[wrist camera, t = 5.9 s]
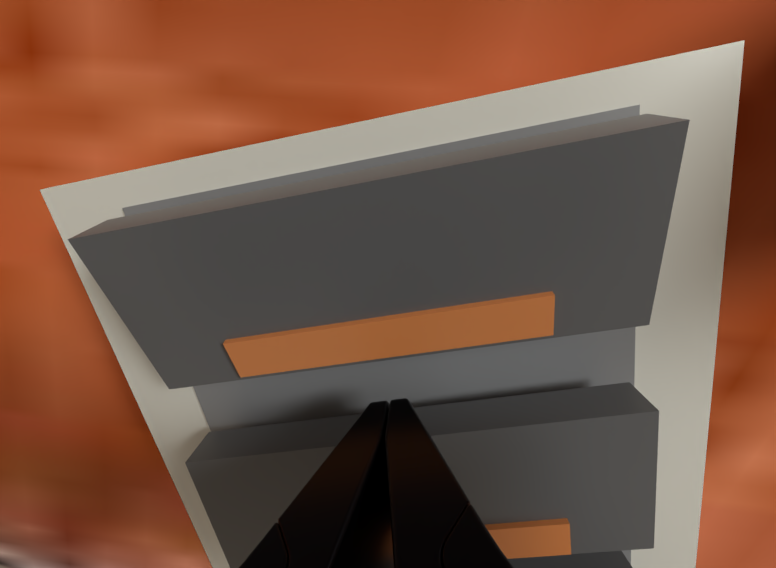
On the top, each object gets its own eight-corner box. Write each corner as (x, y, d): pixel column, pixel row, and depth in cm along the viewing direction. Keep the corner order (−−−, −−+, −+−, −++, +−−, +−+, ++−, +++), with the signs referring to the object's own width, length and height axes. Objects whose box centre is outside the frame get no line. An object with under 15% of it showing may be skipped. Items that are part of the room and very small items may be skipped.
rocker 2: (618, 493, 10) (657, 555, 9) (257, 523, 12) (231, 583, 10) (618, 371, 9) (663, 415, 8) (218, 420, 10) (181, 467, 9)
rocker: (609, 286, 9) (653, 329, 7) (200, 346, 10) (165, 393, 9) (632, 111, 7) (696, 120, 6) (123, 212, 8) (61, 242, 7)
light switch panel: (636, 596, 16) (686, 692, 13) (294, 615, 18) (272, 702, 15) (649, 75, 10) (749, 38, 7) (129, 184, 12) (35, 189, 9)
